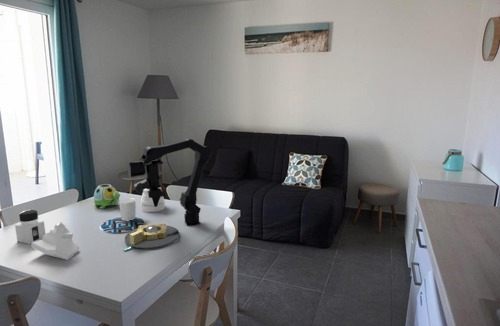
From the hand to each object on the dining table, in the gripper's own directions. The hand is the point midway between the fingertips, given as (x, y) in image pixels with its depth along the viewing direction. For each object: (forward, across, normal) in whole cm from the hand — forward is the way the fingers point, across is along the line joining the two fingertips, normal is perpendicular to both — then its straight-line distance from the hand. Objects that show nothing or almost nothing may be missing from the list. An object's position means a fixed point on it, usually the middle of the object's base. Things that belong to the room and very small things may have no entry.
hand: (155, 206), depth 153 cm
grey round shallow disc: (+12, +9, -3) cm, 15 cm away
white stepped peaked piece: (+11, +12, -39) cm, 42 cm away
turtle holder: (+12, -47, -23) cm, 53 cm away
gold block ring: (+10, +10, -4) cm, 15 cm away
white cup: (+12, -20, -12) cm, 26 cm away
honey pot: (+12, -33, +1) cm, 35 cm away
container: (+10, -8, -53) cm, 54 cm away
